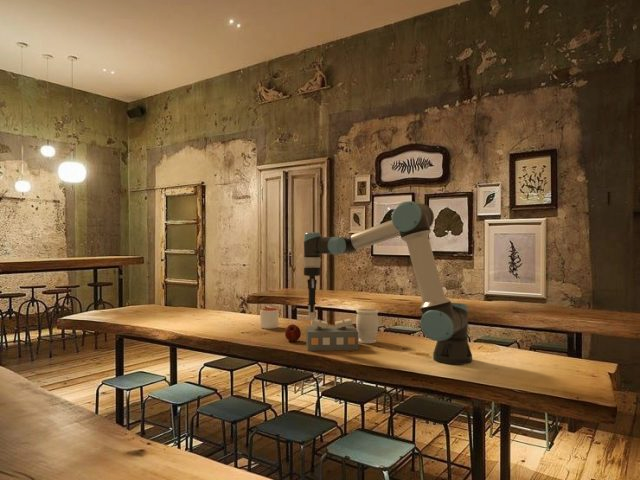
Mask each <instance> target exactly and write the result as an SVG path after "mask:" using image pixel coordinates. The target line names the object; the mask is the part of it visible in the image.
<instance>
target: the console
mask: <svg viewBox="0 0 640 480" xmlns="http://www.w3.org/2000/svg"><path fill="white" fill-rule="evenodd" d="M305 328H306V329H305V343H306V344H305V345H306V349H307V351H358V350H359V341H358V340H359V336H358V331H357V327H355V326H354V325H349V326H344V327H340V328H337V327H336V325H327V328H323V327H319V326H314V325H311V326H310V325H309V326H308V325H307V326H305Z"/></svg>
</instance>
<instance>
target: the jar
mask: <svg viewBox="0 0 640 480" xmlns="http://www.w3.org/2000/svg"><path fill="white" fill-rule="evenodd" d="M355 312H356V313H357V314H356V319H355V325H356V327H355V328H356V330H357V331H358V343H361V344H375V343H377V340H376V337H377V335H378V330H379V321H380V320H379V315H378V314H379V310H378V309H375V308H374V309H373V308H359V309H356V311H355Z"/></svg>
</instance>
